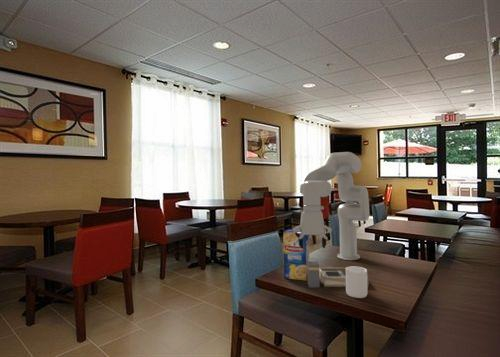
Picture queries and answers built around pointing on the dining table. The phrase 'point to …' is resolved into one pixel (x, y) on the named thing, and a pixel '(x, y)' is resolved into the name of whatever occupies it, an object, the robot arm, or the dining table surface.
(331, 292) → the dining table surface
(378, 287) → the dining table surface
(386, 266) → the dining table surface
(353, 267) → the mug
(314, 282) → the block
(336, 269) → the box
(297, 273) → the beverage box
